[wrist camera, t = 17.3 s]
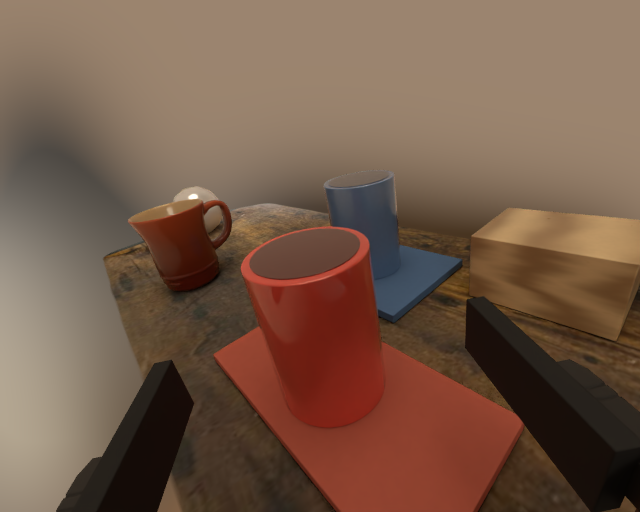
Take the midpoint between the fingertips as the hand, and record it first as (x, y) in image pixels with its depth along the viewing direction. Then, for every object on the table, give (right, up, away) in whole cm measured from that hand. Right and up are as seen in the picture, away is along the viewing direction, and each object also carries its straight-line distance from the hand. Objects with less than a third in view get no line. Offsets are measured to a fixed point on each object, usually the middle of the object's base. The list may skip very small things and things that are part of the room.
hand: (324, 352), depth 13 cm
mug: (-16, +1, +29) cm, 33 cm away
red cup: (+1, -4, +8) cm, 9 cm away
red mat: (+1, -5, +8) cm, 9 cm away
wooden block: (+20, +1, +13) cm, 23 cm away
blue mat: (+6, +2, +21) cm, 22 cm away
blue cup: (+5, +3, +22) cm, 22 cm away
